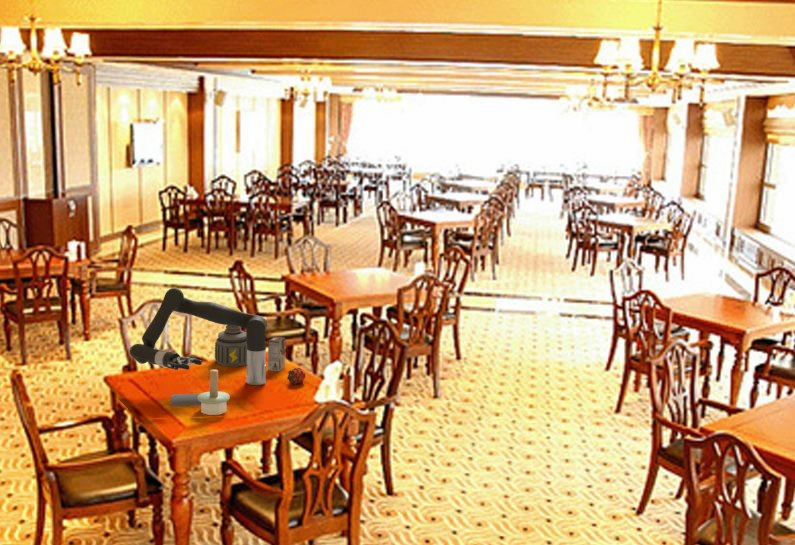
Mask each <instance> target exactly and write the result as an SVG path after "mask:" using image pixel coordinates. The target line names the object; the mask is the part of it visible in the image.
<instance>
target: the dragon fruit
mask: <svg viewBox="0 0 795 545" xmlns="http://www.w3.org/2000/svg"><path fill="white" fill-rule="evenodd" d="M306 377H307V376H306V373H305V371H304V370H303V369H301V367H297V368H295V367H294V368H293V369H292V370H289V371H288V375H287V380H288V382H290V383H292V384H293V385H297V384H303V383H304V380H305V378H306Z"/></svg>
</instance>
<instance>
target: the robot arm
mask: <svg viewBox="0 0 795 545" xmlns="http://www.w3.org/2000/svg"><path fill="white" fill-rule="evenodd" d="M240 311H241V310H240ZM240 311H237V310H234V309H232V308H231V307H228V306H226V305H222V304H219V303H217V302H213V301H198V300H197V301H196V300H193V299H189V298H187V297H185V296H184V292H183V291H182V290H181V289H180V288H178V287H177V288H176V287H171V288H170V289H168V290H167V291H166V292H165V294H164V297H163V299H162V301H161V305H160V306H159V308H158V310H157V312H156V314H155V316H154V317H153V318H152V320H151V322H150V324H149V325H148V326H147V328H146V330H145V331H144V333H143V335H142V336H141V340H142V343H135V344H133V345H132V346H131V347H130V349H129V354H130V356H131V357H132V358H133V359H134V360H135V361H136V362H137V363H139V364H141V365H142V364H146V363H149V364H152V365H155V366H159V367H162V368H163V367H164V368H167V369H171V370H177V371H178V370H181V369H183V370H190V365H198V366H201V365H202V364H203V361H202V360H201V359H198V356H194V355H188V354H187V355H185V356H181V355H180V354H179V353H178V352H175V351H170V350H162V349H157V348H155V346H156V343H157V342H158V340H159V338H160V337H161V335H162V334H163V332H164V330H165V327H166V325H167V323H168V321H169V318H170V317H171V315H172V313H173V312H175V313H176V312H177V313H183V314H187V315H191V316H194V317H197V318H199V319H203V320H206V321H209V322H212V323H215V324H218V325H224V326H225V325H236V326H240V327H241V328H243V329H245V330H246V331H245V332H246V344H247V364H246V378H245V379H246V380H245V381H246V382H245V383H246V384H247V385H251V386H260V385H266V377H267V374H266V373H267V364H266V362H267V361H266V359H267V358H266V357H267V356H266V354H267V344H266V330H267V328H268V322H267V320H266V319H265V318H264V317H263V316H260V315H257V314H252V313H246V312H242V311H241V312H240Z"/></svg>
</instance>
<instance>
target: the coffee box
mask: <svg viewBox="0 0 795 545" xmlns="http://www.w3.org/2000/svg"><path fill="white" fill-rule="evenodd" d="M267 344H268V346H267V347H268V351H267V371H269V372H270V371H271V372H280V371H281V370H283V369H284V368H285V366H286V365H285V363H286V337H283V336H282V337H280V336H273V337H272V338H270V339H269V340H268V343H267Z"/></svg>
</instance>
